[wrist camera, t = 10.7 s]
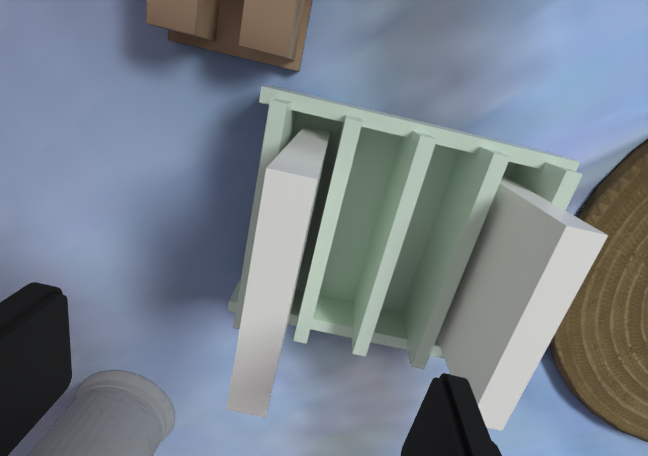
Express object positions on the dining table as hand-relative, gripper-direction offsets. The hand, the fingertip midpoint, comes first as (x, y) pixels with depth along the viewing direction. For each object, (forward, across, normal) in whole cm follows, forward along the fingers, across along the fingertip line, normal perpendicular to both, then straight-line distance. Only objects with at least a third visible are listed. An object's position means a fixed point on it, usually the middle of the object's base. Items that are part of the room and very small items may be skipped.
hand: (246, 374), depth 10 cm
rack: (+17, -5, +1) cm, 18 cm away
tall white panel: (+16, 0, +1) cm, 16 cm away
